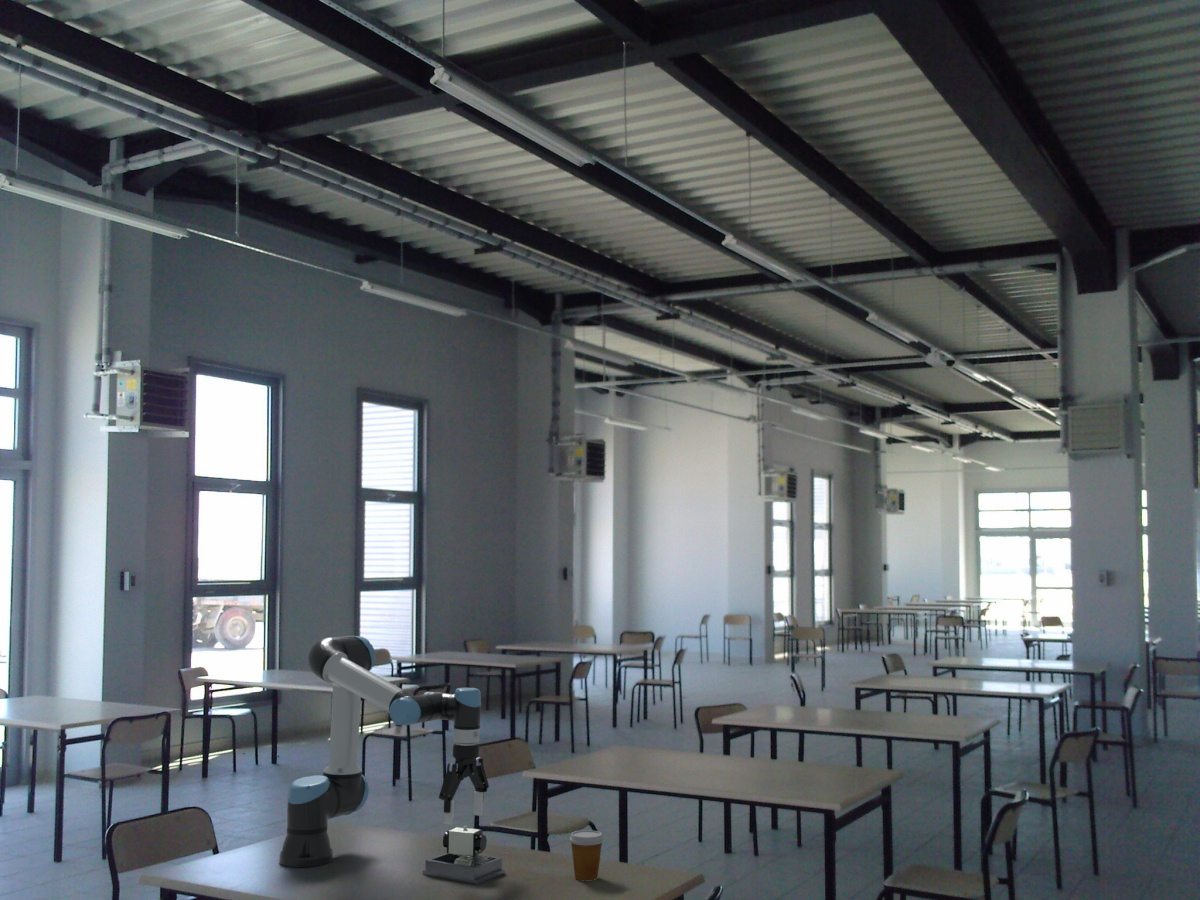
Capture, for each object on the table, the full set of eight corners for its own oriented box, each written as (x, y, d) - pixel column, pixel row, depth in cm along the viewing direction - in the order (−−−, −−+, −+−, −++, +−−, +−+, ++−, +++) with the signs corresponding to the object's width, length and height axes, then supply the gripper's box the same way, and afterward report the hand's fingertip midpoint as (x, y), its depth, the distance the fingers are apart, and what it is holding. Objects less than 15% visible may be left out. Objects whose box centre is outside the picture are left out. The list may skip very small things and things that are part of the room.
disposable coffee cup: (596, 884, 292) (596, 839, 294) (564, 881, 295) (564, 836, 297) (608, 875, 301) (608, 831, 302) (576, 872, 304) (576, 828, 306)
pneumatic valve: (479, 874, 298) (480, 829, 299) (441, 870, 302) (442, 826, 303) (487, 869, 303) (488, 825, 304) (450, 865, 307) (451, 822, 308)
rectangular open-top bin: (422, 874, 301) (422, 859, 302) (451, 863, 312) (451, 849, 313) (477, 884, 292) (477, 869, 292) (504, 873, 303) (504, 858, 303)
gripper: (449, 750, 294) (446, 830, 291) (502, 739, 315) (499, 813, 313) (428, 747, 297) (425, 826, 295) (481, 736, 319) (479, 809, 317)
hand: (463, 819), depth 304 cm, fingers open, 13 cm apart
